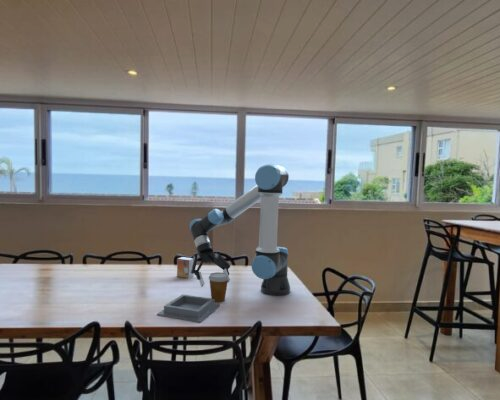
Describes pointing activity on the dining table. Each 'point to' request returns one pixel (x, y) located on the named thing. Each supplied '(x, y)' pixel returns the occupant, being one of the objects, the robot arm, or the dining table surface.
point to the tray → (189, 308)
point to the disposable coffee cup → (218, 286)
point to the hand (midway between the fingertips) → (215, 283)
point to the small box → (185, 267)
